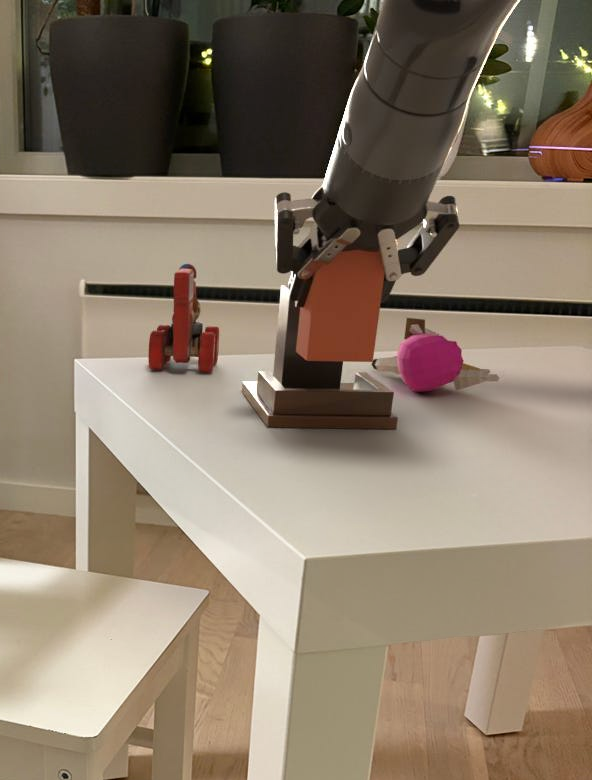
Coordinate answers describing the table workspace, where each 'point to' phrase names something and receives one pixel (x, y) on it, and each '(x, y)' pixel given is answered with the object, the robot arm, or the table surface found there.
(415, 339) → the toy
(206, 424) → the table surface
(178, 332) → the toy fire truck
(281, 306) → the brown wooden stand
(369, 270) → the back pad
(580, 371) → the table surface
